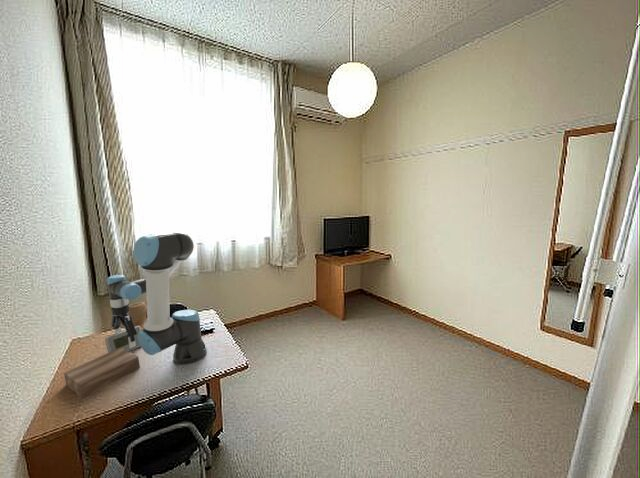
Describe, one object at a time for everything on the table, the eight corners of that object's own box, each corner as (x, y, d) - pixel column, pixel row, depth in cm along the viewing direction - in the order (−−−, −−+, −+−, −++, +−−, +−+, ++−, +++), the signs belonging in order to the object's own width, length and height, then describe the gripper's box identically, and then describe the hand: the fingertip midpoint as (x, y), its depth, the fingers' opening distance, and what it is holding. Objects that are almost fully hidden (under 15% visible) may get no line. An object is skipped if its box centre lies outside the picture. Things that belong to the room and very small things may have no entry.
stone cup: (136, 322, 179) (133, 299, 176) (156, 321, 179) (153, 299, 176) (121, 334, 164) (117, 310, 161) (142, 333, 164) (139, 309, 162)
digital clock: (108, 360, 138) (105, 340, 136) (106, 353, 144) (103, 334, 142) (146, 347, 149) (143, 329, 147) (142, 341, 155) (140, 323, 153)
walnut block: (139, 368, 131) (138, 356, 130) (82, 398, 112) (80, 384, 111) (122, 358, 139) (120, 347, 138) (66, 385, 120) (63, 372, 119)
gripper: (141, 307, 139) (146, 346, 143) (116, 298, 151) (121, 334, 155) (124, 313, 133) (130, 353, 137) (99, 303, 145) (106, 340, 149)
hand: (125, 343), depth 146 cm, fingers open, 13 cm apart
